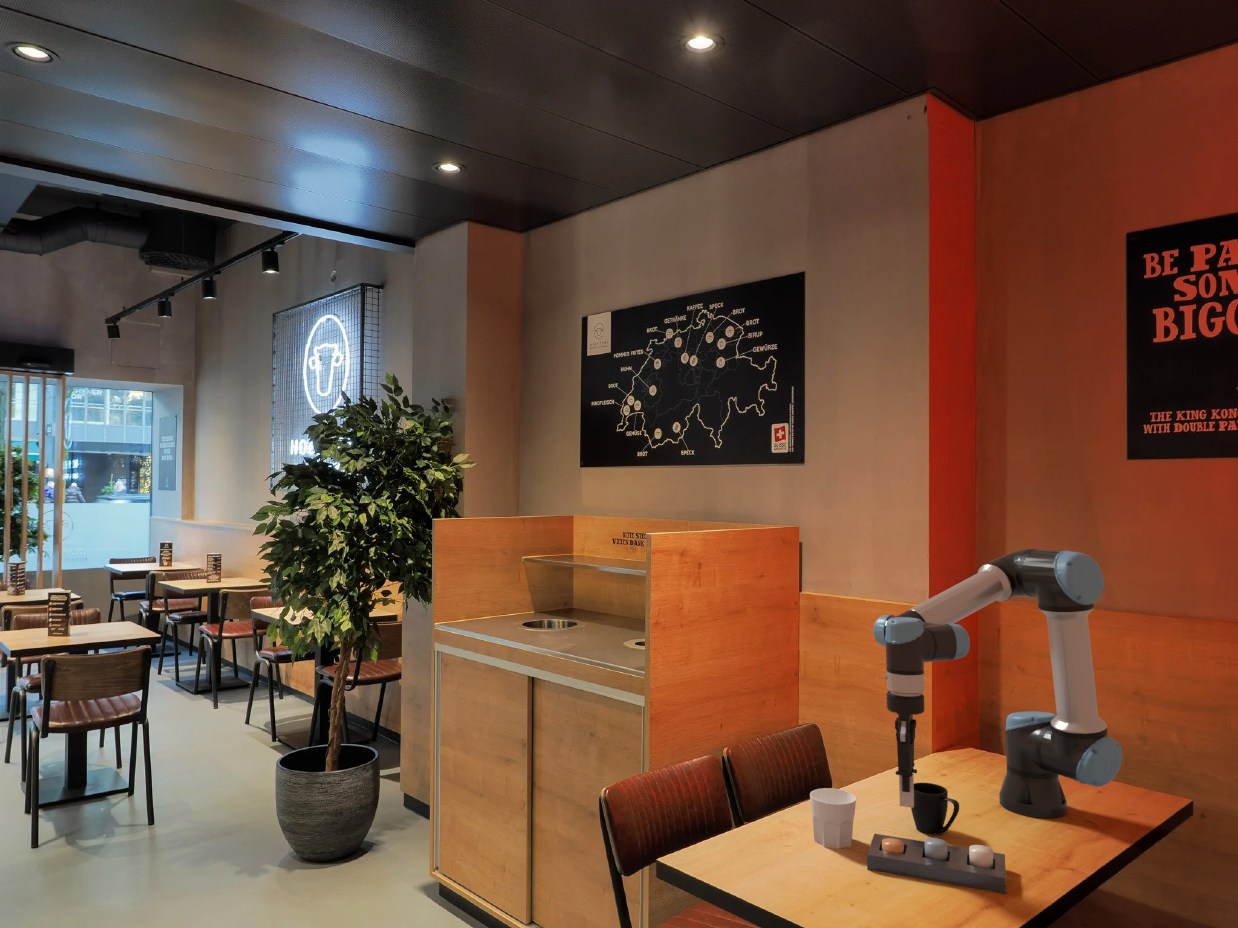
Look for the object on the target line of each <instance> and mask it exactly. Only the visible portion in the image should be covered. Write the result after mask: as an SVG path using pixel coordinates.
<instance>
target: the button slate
mask: <svg viewBox="0 0 1238 928" xmlns="http://www.w3.org/2000/svg"><path fill="white" fill-rule="evenodd" d="M924 841H925V858H930V859H936V860H942V861H948V851H947V845H948V841H946V840H944V839H941V838H937V837H928V838H925V839H924Z"/></svg>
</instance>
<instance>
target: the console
mask: <svg viewBox="0 0 1238 928" xmlns="http://www.w3.org/2000/svg"><path fill="white" fill-rule="evenodd" d="M885 838H894V839H898V840H901V841H902V842H903V843H904V854H900V853H894V852H888V851H882V840H883V839H885ZM871 839H872V840H871V843H870V845H869V848H868V851H867V855H866V857H867V859H866V860H867V861H866V863H867V864H866V866H867V867H866V869H867V870H868V871H869V870H870V871H873V872H879V873H887V874H891V875H896V876H902V877H908V878H913V879H919V880H924V881H925V880H926V881H931V882H937V883H942V884H947V885H954V886H957V887H958V886H959V887H965V888H971V889H976V890H982V891H988V892H993V893H999V894H1004V895H1006V894H1007V872H1006V868H1007V867H1006V855H1005V853H1000V852H994V851H993V869H990V868H984V867H978V866H972V865H970V862H969V847H968V848H967V847H961V846H957V845H950V844H949V845H948V844H947V851H948V861H942V860H936V859H930V858H925V840H918V839H912V838H911V839H910V838H905V837H904V838H903V837H900V836H899V837H898V836H894V835H885V834H882V833H881V834H880V833H873V836H872V838H871Z"/></svg>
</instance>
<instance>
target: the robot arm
mask: <svg viewBox="0 0 1238 928" xmlns="http://www.w3.org/2000/svg"><path fill="white" fill-rule="evenodd" d="M979 567H980V568H979V569H978V571H977V573H976V574H974V575H972V576H970V577H968V578H966V579H964V580H962V581H961V582H959V583H957V584H955V585H953V586H950V587H949V588H947V589H945V590H944V591H941V592H940V593H938V594H936V595H934V596H932V597H930V598H928V599H927V600H924V601H923V602H921V603H919V604H917V605H916V606H914V607H912V608H910V609H907V610H906V611H904V612H902V613H900V614H898V615H893V614H885V615H884V614H883V615H881V616H879V617H878V618H877V619H876V621H875V622H874V624H873V628H872V631H873V632H872V633H873V638H874V639H875V641H876V643H877V644H879V645H880V646H882V647H885V660H886V661H885V662H886V663H885V664H886V667H885V668H886V674H884V675H883V679H884V680H886V690H888V691H887V692H886V708H887V710H888V711H889V712H891V713H895V714H897V715H898V716H897V717H896V719H895V721H894V728H895V730H896V732H895V737H896V738H895V739H896V747H897V749H896V750H897V770H896V771H895V775H896V776H897V775H898V779H899V780H898V781H899V784H898V785H899V807H903V808H906V807H907V808H910V809H911V808H913V807H914V783H915V781H914V777H915V776H914V774H917V773H918V769H914V768H915V764H916V763H915V739H916V727H917V719H915V718H914V715H915V716H916V715H921V714H923V713H924V712H925V695H924V694H923V693H924V692H925V663H930V662H941V661H955V660H958V659H962V658H965V656H967V654H968V653H969V651H970V648H971V638H970V636H969V634H968V631H967V630H966V629H965V628H964V627H963V626H961V625H960V624H956V623H957V622H959V621H960V620H962V619H965V618H966V617H968V616H970V615H972V614H974V613H975V612H977V611H979V610H981V609H983V608H985V607H986V606H988V605H990V604H992V603H994V602H1005V601H1007V600H1009V599H1012V598H1014V597H1031V598H1037V608H1038V611H1040V612H1041V613H1042V614H1044V615H1045V617H1046V625H1047V634H1048V636H1047V637H1048V643H1049V652H1050V653H1049V654H1050V662H1051V671H1052V672H1051V673H1052V681H1053V682H1052V683H1053V691H1054V700H1055V708H1056V709H1055V710H1056V714H1055V713H1053V712H1046V711H1034V710H1033V711H1032V710H1031V711H1017V712H1012V713H1010V714H1008V715H1007V716H1006V723H1005V752H1006V754H1005V756H1006V757H1005V758H1006V774H1005V776H1004V779H1003V781H1002V784H1001V788H1000V791H999V804H1000V805H1001V806H1002V807H1003V808H1005V809H1007V810H1009V811H1011V812H1013V813H1017V814H1019V815H1023V816H1028V817H1034V818H1043V819H1047V818H1049V819H1050V818H1051V819H1054V818H1056V819H1057V818H1061V817H1064V816H1066V815H1067V813H1068V802H1067V799H1066V795H1065V793H1064V790H1063V787H1062V785H1061V781H1060V779H1059V778H1060V777H1059V776H1062V777H1064V778H1067V779H1071V780H1074V781H1076V782H1078V783H1079V784H1083V785H1088V786H1092V787H1097V788H1098V787H1099V788H1100V787H1105V786H1106V785H1108V784H1110V783H1111V782H1112V781H1113V780H1114V779H1115V778H1116V777H1117V774H1118V773H1119V771H1120V769H1121V766H1122V760H1123V751H1122V746H1121V745H1120V743H1119V742H1118V741H1117V740H1116V739H1115V738H1113V737H1111V736H1109V735H1108V734H1109V733H1108V725H1107V722H1105V721H1104V719H1102V718H1101V717H1099V710H1098V709H1099V708H1098V700H1097V692H1096V683H1095V672H1094V671H1095V670H1094V663H1093V654H1092V644H1091V637H1090V634H1091V633H1090V626H1089V625H1090V624H1089V614H1091V613H1092V612H1093V610H1094V609H1095V604H1096V603H1097V602H1098V601H1099V600H1100V599H1101V597H1102V595H1103V594H1102V592H1103V591H1104V588H1105V585H1104V584H1105V581H1104V580H1105V579H1104V574H1103V571H1102V569H1101V567H1100V566H1099V564H1098V562H1097V561H1096V560H1094V559H1093V558H1092V557H1091V556H1090V555H1088V554H1085V552H1084V553H1083V552H1077V551H1072V550H1062V549H1061V550H1060V549H1038V548H1025V549H1024V548H1023V549H1020V550H1016V551H1013V552H1009V553H1007V554H1004V555H1002V556H1000V557H997V558H995V559H993V560H991V561H989V562H987V563H985V564H983V565H982V566H979Z"/></svg>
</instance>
